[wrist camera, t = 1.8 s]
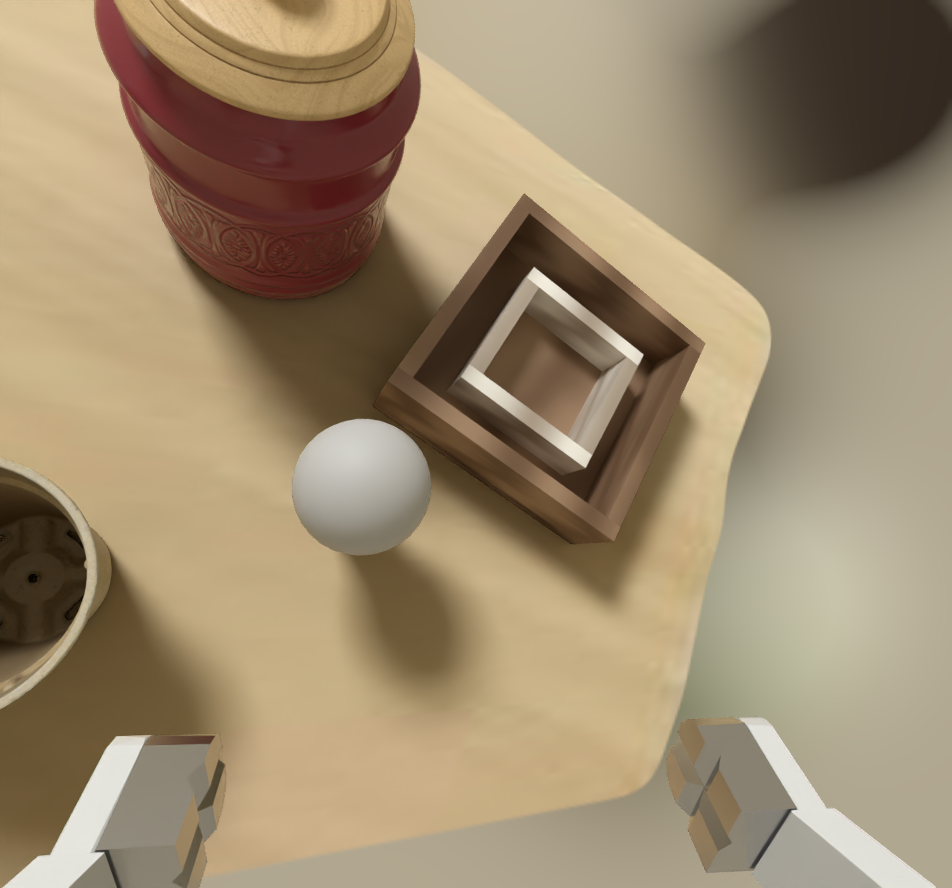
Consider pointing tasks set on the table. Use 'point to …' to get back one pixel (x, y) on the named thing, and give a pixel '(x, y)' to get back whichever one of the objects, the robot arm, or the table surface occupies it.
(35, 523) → the flower pot
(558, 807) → the table surface
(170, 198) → the canister
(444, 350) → the socket box
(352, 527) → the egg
